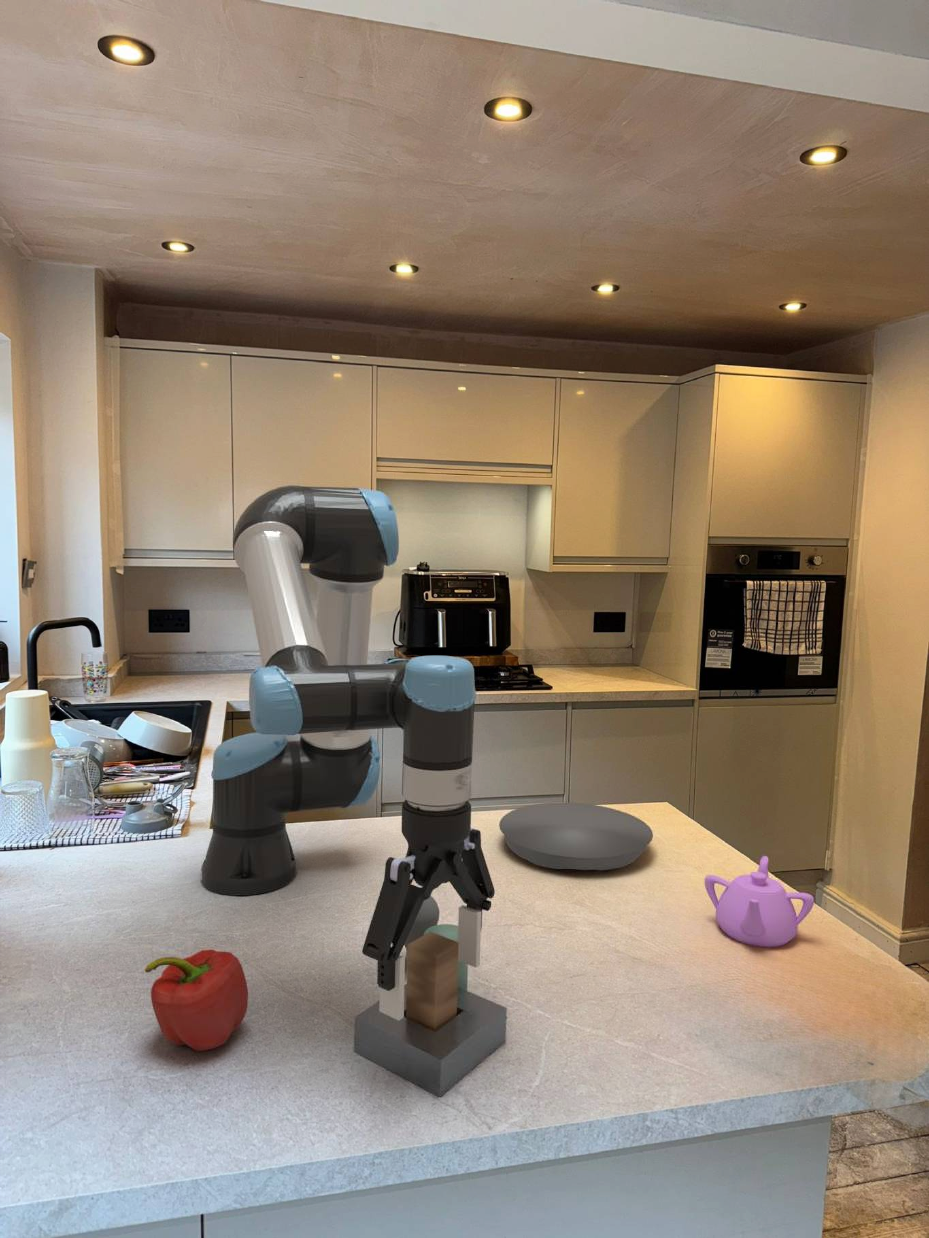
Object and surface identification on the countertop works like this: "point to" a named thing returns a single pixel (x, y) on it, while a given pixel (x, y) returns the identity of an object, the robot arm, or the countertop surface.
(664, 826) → the countertop surface
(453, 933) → the green round bit
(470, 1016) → the bore block
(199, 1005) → the vegetable
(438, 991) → the walnut square peg
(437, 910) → the light bulb
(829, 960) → the countertop surface
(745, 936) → the teapot
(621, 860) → the flat disc
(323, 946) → the countertop surface
